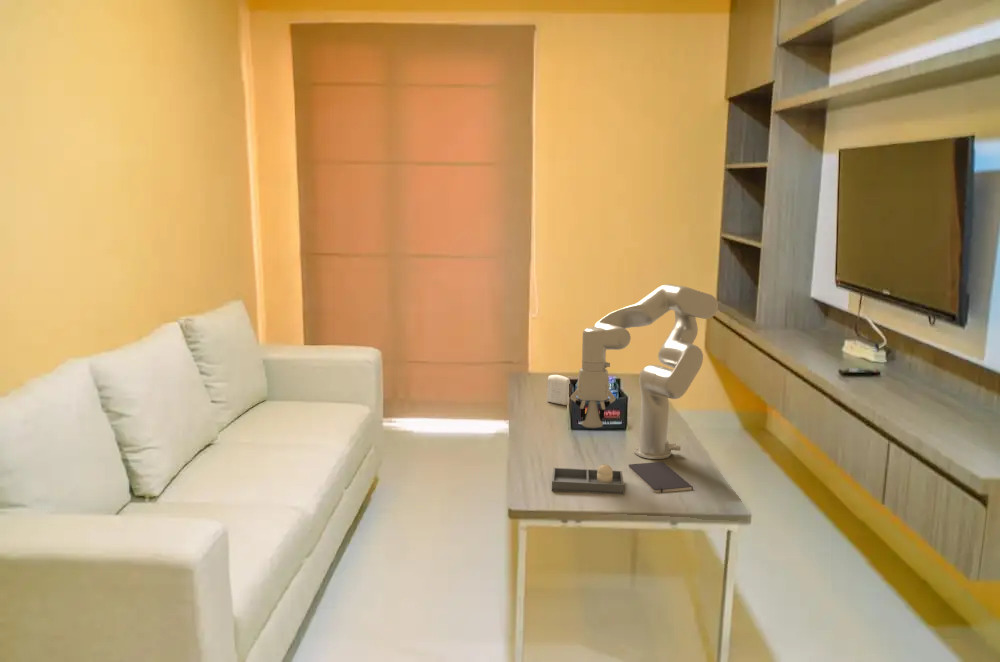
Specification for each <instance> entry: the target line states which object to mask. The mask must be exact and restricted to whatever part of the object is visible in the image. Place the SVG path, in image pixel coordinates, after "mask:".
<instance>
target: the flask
mask: <svg viewBox="0 0 1000 662" xmlns="http://www.w3.org/2000/svg"><path fill="white" fill-rule="evenodd" d="M597 402H598V401H588V403H587V404H588V405H587V409H586V410H585V420H584V421H583V420H582V422H581V424H580V425H581V426H583V427H584V428H588V429H589V428H592V429H593V428H594V429H597V428H601V427H602V428H603V426H604V422H603V420H602V421H601V420H600V409H599V407H598V403H597Z"/></svg>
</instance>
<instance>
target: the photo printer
mask: <svg viewBox="0 0 1000 662" xmlns="http://www.w3.org/2000/svg"><path fill="white" fill-rule="evenodd" d="M546 382H547V383H546V384H547V386H546V387H547V390H546V391H547V392H546V401H547V402H548V403H553V404H559V405H563V406H568V405H569V404H568V398H569V399H570V397H569V384H570V385H571V380H570V378H569V377H567V376H564V375H561V374H560V375H559V374H550V375H548V377H547V381H546Z"/></svg>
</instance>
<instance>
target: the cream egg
mask: <svg viewBox="0 0 1000 662" xmlns="http://www.w3.org/2000/svg"><path fill="white" fill-rule="evenodd" d="M596 470H597V483H609V484H612V477H613V471H614V470H613V467H611V465H608V464H607V463H605V464H600V465H599V466H598V468H597V469H596Z"/></svg>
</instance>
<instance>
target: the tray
mask: <svg viewBox="0 0 1000 662" xmlns="http://www.w3.org/2000/svg"><path fill="white" fill-rule="evenodd" d="M597 470H598V469H589V468H588V469H587V468H586V469H585V468H571V467H570V468H568V467H553V468H552V477H551V491H555V492H572V493H573V492H574V493H591V494H592V493H593V494H594V493H595V494H610V495H611V494H613V495H624V492H625V491H624V489H625V483H624V476H623V471H622V470H612V471H613V477H612V484H609V483H597Z"/></svg>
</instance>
